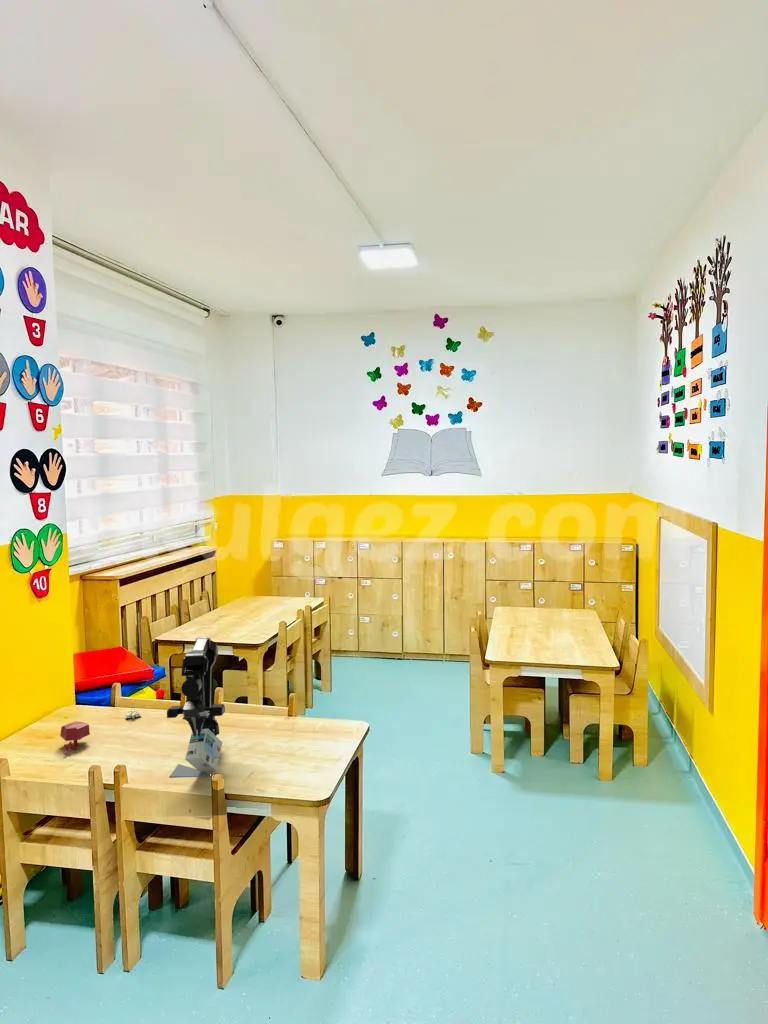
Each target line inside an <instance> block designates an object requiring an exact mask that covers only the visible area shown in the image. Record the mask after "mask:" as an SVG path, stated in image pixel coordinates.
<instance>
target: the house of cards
mask: <svg viewBox="0 0 768 1024" xmlns="http://www.w3.org/2000/svg"><path fill="white" fill-rule="evenodd" d="M135 708H136V706H135V705H134V703H132V704H131V706H130V709H133V710H130V711H127V714H126V715H125V716H124V720H126V719H128V720H130V719H131V718H132V719H136V717H137V718H140V717H142V715H141V714H140V713H139V711H138V710H135Z"/></svg>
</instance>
